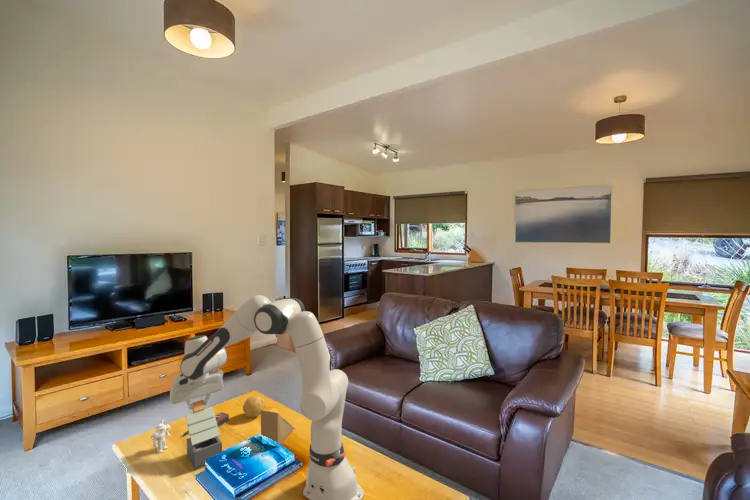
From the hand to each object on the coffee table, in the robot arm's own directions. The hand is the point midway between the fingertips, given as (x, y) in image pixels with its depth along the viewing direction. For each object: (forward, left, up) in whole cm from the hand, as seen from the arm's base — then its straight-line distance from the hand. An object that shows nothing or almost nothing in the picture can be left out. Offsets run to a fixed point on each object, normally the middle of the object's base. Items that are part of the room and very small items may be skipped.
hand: (198, 406), depth 147 cm
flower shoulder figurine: (+9, +12, -18) cm, 24 cm away
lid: (-3, 0, -5) cm, 6 cm away
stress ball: (+10, -28, -18) cm, 35 cm away
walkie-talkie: (+15, -8, -19) cm, 25 cm away
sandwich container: (-14, -30, -18) cm, 38 cm away
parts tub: (-8, 0, -18) cm, 20 cm away
